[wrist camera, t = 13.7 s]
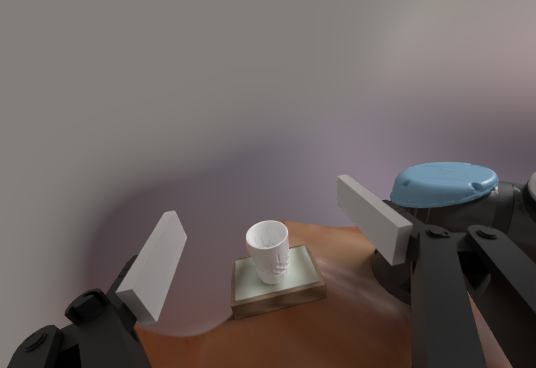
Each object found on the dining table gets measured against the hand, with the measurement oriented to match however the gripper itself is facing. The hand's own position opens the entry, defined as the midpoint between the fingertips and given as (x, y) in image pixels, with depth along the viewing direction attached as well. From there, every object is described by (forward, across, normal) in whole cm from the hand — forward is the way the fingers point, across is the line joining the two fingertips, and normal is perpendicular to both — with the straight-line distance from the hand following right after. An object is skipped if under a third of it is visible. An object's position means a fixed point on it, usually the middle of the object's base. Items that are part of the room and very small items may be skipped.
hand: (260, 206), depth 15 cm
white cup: (+15, 0, -26) cm, 30 cm away
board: (+15, 0, -30) cm, 33 cm away
